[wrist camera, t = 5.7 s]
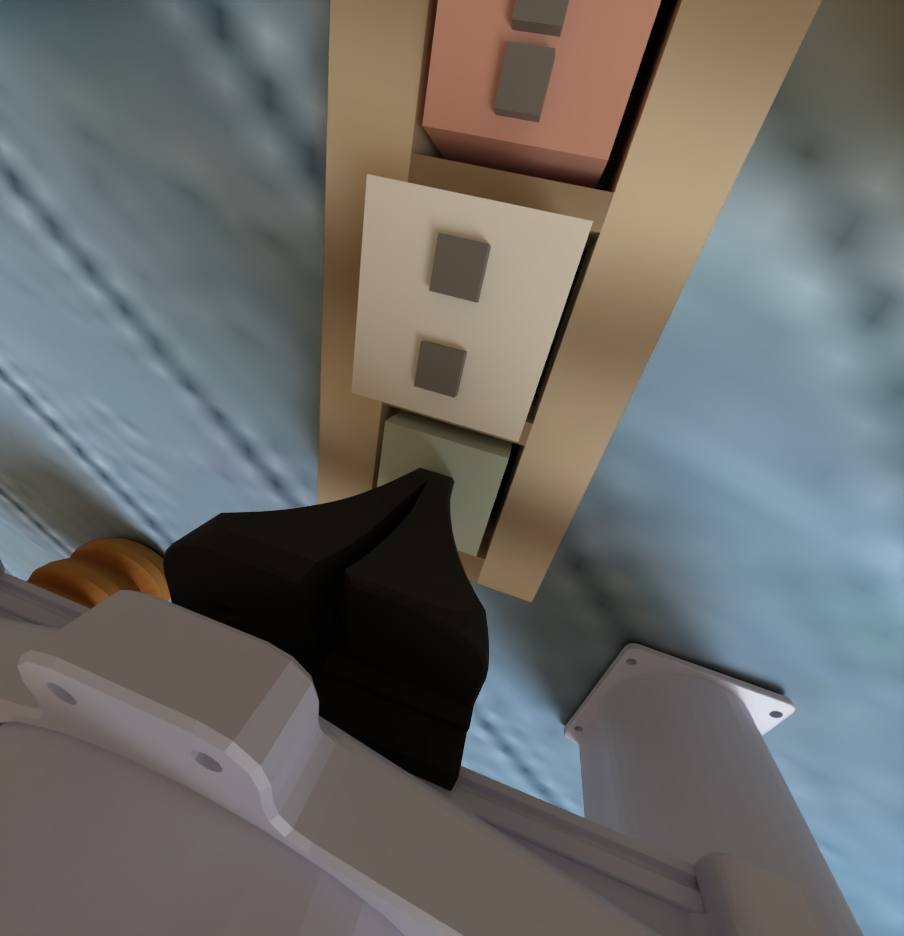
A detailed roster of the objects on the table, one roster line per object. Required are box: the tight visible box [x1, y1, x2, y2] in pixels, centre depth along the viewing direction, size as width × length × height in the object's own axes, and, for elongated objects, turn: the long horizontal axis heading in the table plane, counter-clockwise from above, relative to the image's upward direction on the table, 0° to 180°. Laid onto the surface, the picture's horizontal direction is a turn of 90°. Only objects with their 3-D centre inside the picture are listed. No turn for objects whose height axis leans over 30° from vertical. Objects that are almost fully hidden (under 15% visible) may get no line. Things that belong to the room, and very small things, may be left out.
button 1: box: [377, 410, 513, 557], centre depth 13 cm, size 4×4×3 cm
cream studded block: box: [351, 174, 593, 442], centre depth 8 cm, size 4×4×3 cm
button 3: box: [422, 0, 661, 189], centre depth 8 cm, size 4×4×3 cm
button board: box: [318, 0, 822, 603], centre depth 11 cm, size 20×10×3 cm, turn 167°
